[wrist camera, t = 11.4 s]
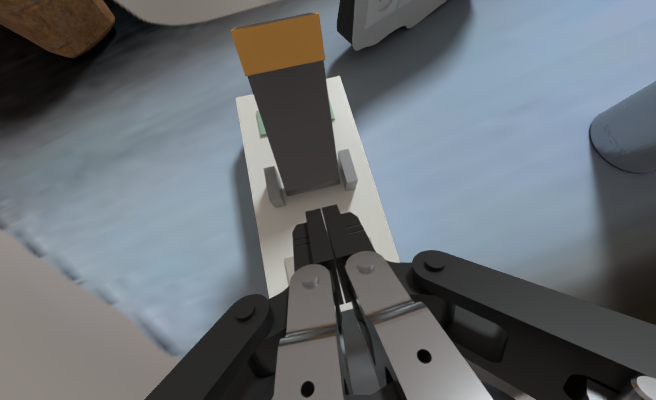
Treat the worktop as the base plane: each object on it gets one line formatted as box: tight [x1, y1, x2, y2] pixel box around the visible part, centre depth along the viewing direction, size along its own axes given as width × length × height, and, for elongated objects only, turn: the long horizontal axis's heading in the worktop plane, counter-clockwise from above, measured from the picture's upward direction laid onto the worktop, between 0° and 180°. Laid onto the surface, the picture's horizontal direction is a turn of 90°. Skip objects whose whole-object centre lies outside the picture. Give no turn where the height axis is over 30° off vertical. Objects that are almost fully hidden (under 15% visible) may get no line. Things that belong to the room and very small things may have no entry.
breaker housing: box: [236, 76, 400, 312], centre depth 26 cm, size 12×24×8 cm, turn 14°
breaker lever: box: [231, 12, 340, 196], centre depth 19 cm, size 5×3×13 cm
